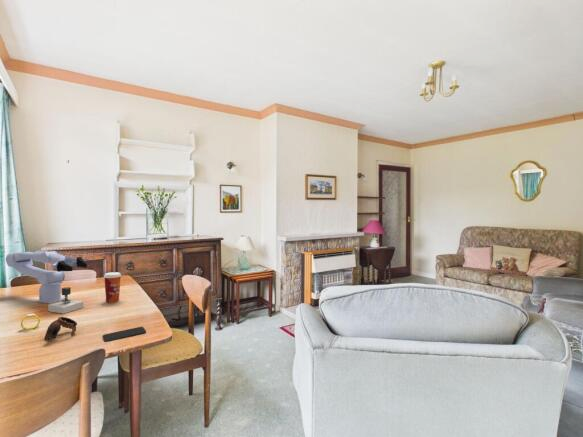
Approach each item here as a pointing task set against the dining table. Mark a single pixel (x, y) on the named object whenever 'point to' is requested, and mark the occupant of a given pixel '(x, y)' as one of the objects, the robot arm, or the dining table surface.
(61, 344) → the dining table surface
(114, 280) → the coffee cup
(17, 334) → the dining table surface
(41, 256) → the robot arm
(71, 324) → the brown curved piece
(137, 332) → the phone
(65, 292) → the plunger
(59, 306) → the block
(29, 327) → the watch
